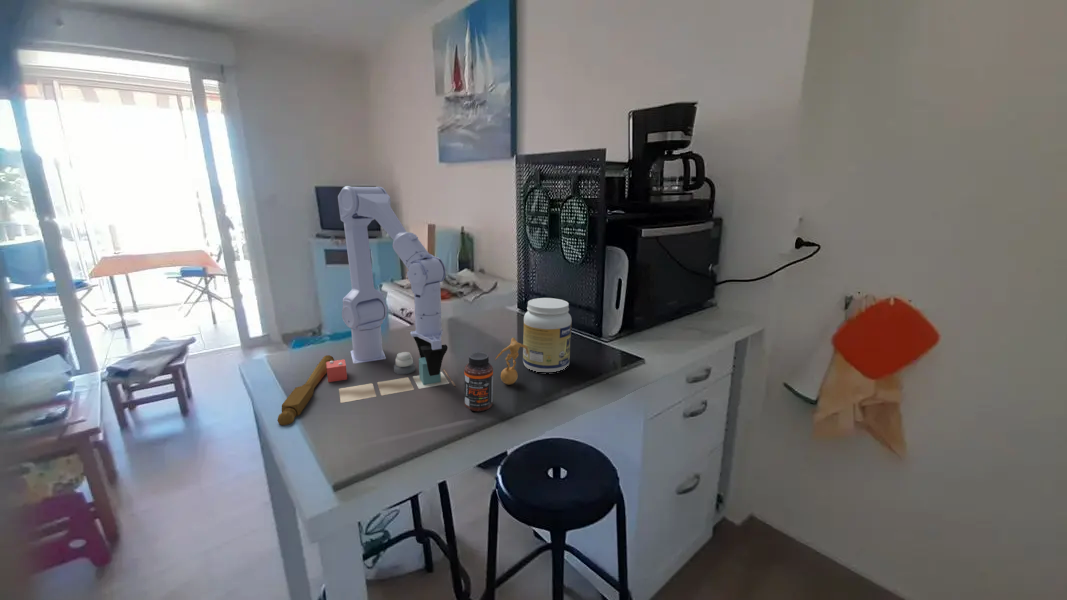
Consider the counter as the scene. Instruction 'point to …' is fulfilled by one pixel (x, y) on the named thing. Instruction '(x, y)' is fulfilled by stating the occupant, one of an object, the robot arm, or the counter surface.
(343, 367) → the red die
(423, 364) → the teal rectangular block
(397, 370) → the dome base
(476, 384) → the supplement bottle
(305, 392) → the tap handle
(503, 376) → the figurine
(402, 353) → the dome
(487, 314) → the counter surface
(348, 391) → the game board
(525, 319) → the supplement tub
